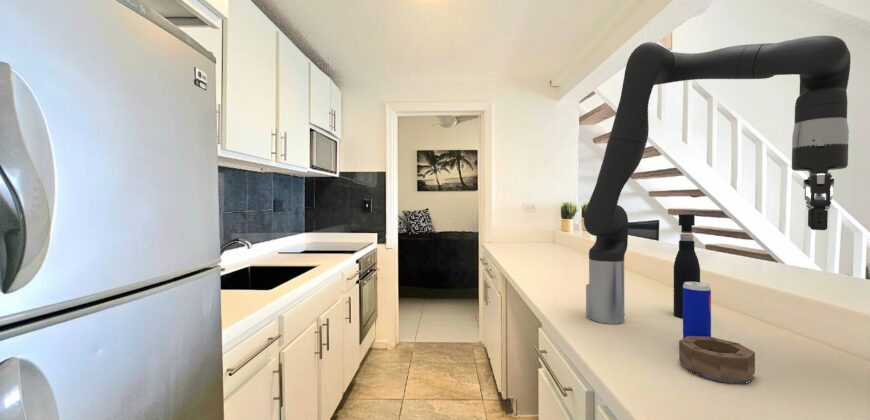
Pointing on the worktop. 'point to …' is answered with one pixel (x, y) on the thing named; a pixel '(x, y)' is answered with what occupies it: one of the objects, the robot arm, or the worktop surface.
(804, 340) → the worktop surface
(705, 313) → the beverage can
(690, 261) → the wine bottle
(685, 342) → the collar
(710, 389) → the worktop surface
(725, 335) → the worktop surface
